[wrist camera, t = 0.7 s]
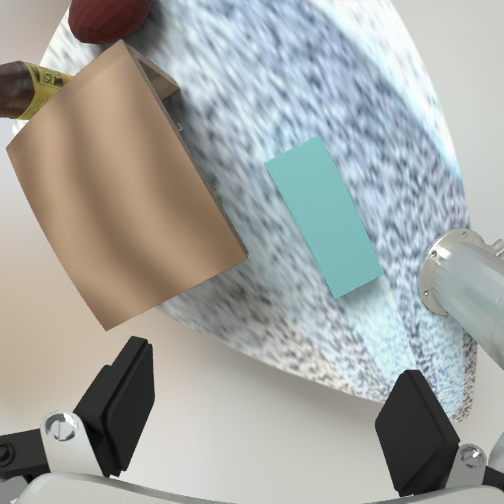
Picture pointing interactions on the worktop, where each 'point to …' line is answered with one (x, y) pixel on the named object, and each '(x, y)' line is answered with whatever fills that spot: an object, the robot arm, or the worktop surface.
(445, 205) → the worktop surface
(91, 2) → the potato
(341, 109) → the worktop surface
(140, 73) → the overhang shelf
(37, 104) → the sauce bottle
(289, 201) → the teal rectangular block
